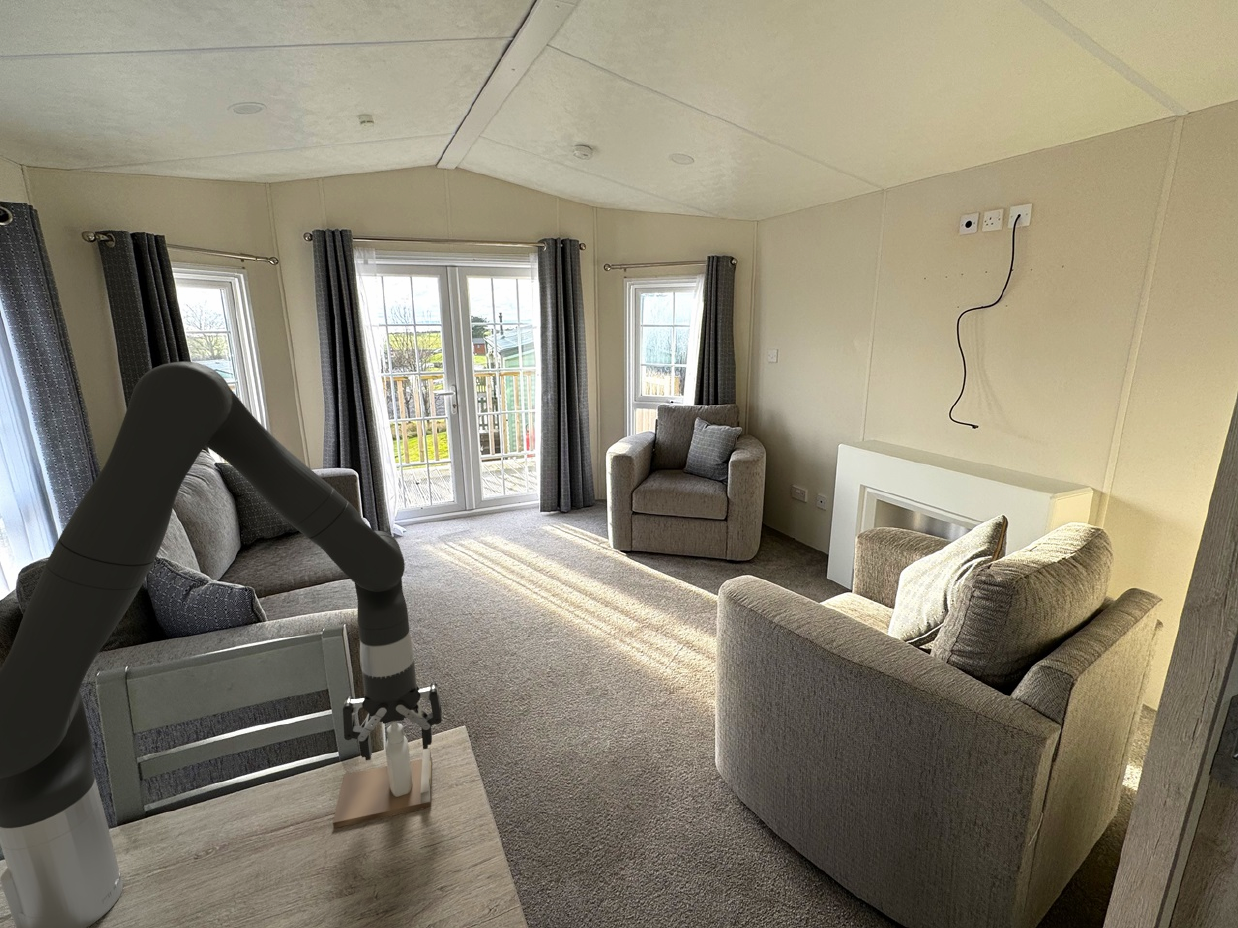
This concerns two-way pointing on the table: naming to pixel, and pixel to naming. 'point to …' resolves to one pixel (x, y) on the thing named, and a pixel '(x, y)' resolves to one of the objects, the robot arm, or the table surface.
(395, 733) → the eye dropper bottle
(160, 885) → the table surface
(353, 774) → the walnut shelf board
